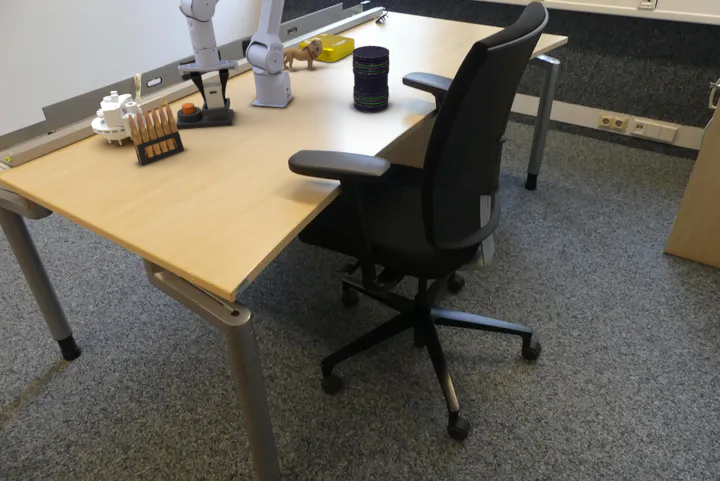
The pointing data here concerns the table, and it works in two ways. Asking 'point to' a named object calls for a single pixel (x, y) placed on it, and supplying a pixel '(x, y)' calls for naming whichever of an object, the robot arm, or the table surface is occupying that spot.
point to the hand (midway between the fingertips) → (215, 99)
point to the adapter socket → (216, 109)
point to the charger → (213, 94)
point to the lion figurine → (304, 54)
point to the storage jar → (371, 78)
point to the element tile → (332, 46)
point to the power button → (188, 108)
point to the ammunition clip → (155, 136)
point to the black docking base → (202, 119)
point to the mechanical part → (116, 117)
